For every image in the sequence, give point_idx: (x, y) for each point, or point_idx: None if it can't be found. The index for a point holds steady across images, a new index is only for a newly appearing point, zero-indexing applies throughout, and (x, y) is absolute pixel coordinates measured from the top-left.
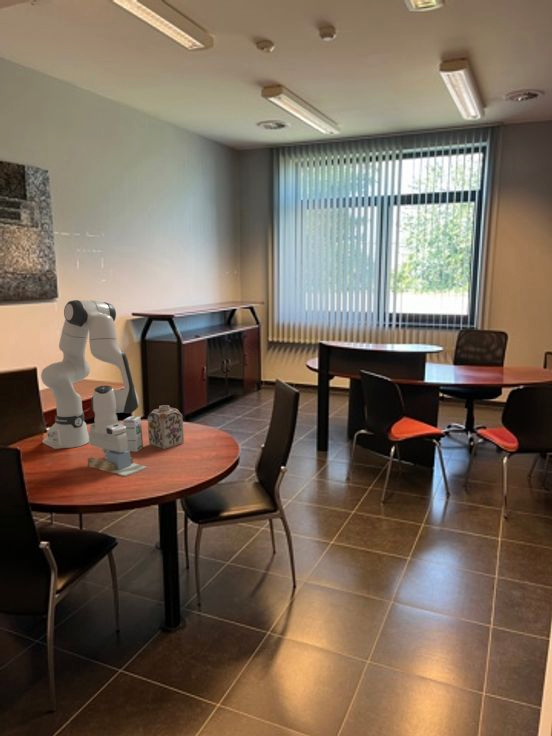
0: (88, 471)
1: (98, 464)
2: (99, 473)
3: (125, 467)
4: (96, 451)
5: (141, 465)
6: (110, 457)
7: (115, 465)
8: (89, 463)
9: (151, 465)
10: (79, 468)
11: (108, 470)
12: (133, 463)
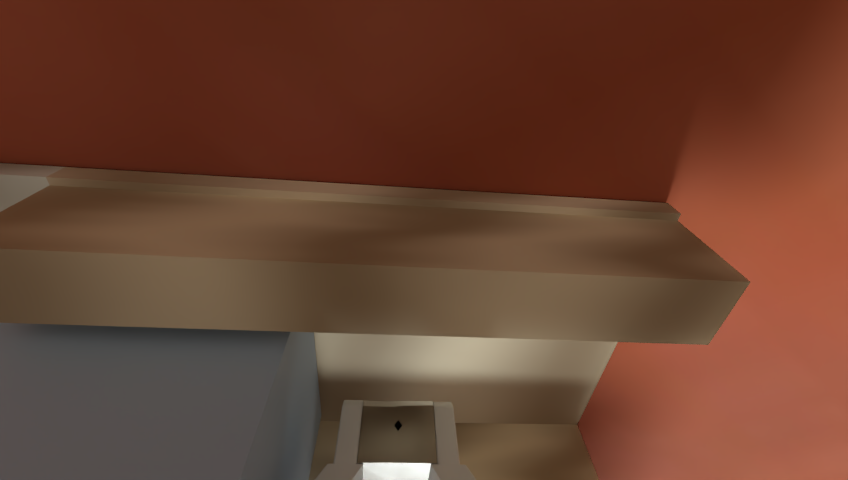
0: (486, 22)
1: (413, 233)
2: (207, 45)
3: None
4: (794, 475)
5: None
6: (118, 430)
7: None
8: (652, 230)
9: None
10: (757, 60)
11: (140, 184)
12: None
